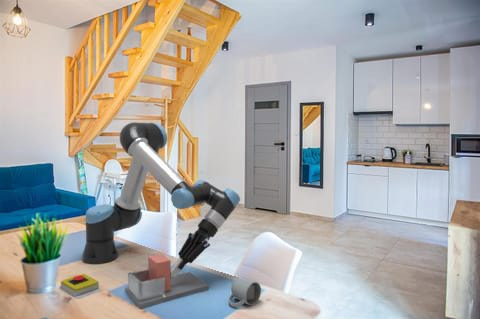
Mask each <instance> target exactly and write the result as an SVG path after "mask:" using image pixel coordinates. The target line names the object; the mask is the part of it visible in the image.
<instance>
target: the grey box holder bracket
mask: <svg viewBox="0 0 480 319" xmlns="http://www.w3.org/2000/svg"><path fill="white" fill-rule="evenodd" d="M127 287H128V290H129V291H130V292H131V293H132V294H133V295H134V296H135V297H136V299H137V300H138V301H139V302H140V301H144V300H148V299H151V298H155V297H159V296H162V295H165V278H164V277H160V278H156V279H152V280H148V268H144V269H140V270H135V271H130V272H128V273H127Z"/></svg>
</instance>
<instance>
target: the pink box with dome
mask: <svg viewBox="0 0 480 319" xmlns="http://www.w3.org/2000/svg"><path fill="white" fill-rule="evenodd" d="M147 259H148V260H147V261H148V262H147V263H148V264H147V269H148V280H152V279H156V278H160V277H164V278H165V292H166V291H169V290H171V276H172V275H171V269H172V268H171V265H172V264H171V260H170V259H169V258H168V257H166V256H165V255H164V254H162V253H159V254H153V255H149V256H148V257H147Z"/></svg>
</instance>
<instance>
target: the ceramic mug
mask: <svg viewBox="0 0 480 319" xmlns="http://www.w3.org/2000/svg"><path fill="white" fill-rule="evenodd" d="M261 294H262V287H261V284H260V283H259V282H258V281H256V280H253V279H252V280H251V279H248V278H245V277H237V278H236V279H235V280H234V281H233V283H232V284H231V294H230V295H229V296H228V303H229V306H230V307H232V308H239V307H241V306H243V305H244V304H246V305H248V306H254V305H256V304H257V303H258V302H259V300H260V298H261ZM234 298H235V299H237V300H239V301H238V302H235V303H232V300H233V299H234Z"/></svg>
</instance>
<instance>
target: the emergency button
mask: <svg viewBox="0 0 480 319" xmlns="http://www.w3.org/2000/svg"><path fill="white" fill-rule="evenodd" d="M59 286H60V288H59V289H60V290H62V291H64V292H66V293H67V294H69V295H70V296H72V297H74V298H75V299H78V300H79V299H83V298H86V297H89V296H91V295H94V294H96V293H99V292H101V291H103V289H102V288H101V287H100V285H99V280H97V279H95V278H93V277H92V276H89V275H87V274H85V273H81V274H79V275H74V276H72V277H69V278H65V279H62V280H60V285H59Z"/></svg>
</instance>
